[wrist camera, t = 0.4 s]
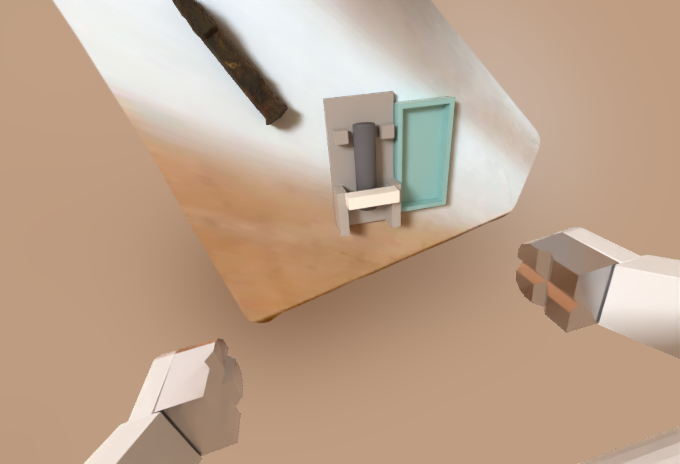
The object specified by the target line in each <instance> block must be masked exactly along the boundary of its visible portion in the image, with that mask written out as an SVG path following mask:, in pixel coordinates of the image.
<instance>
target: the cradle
mask: <svg viewBox="0 0 680 464" xmlns="http://www.w3.org/2000/svg"><path fill="white" fill-rule="evenodd" d="M323 102H324V112H325V122H326V132H327V141H328V151H329V161H330V170H331V180H332V190H333V200H334V209H335V219H336V226H337V228H338V230H339V233H340V235H341V236H347V235H350V229H349V225H355V224H361V223H367V222H373V221H379V220H385V219H386V220H387V222H388V223H389V224H390V226H391V227H392V228H393V227H399V226H401V184H400V183H399V182H398V181H397V180H396V179H395V178H394V92H392V91H389V92H380V93H371V94H362V95H353V96H344V97H335V98H326V99H323ZM362 122H373V123H375V141H376V176H377V188H382V187H388V186H395V187H396V188H397V189H398V190H399V191H400V202H398V203H391V204H385V205H379V206H377V208H376V209H374V210H371V211H362V210H359V209H354V210H349V209H348V207H347V205H346V199H345V193H349V192H356V191H357V190H356V174H355V158H354V143H353V127H352V125H353V124H356V123H362Z"/></svg>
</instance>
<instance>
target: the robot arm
mask: <svg viewBox="0 0 680 464" xmlns="http://www.w3.org/2000/svg"><path fill="white" fill-rule="evenodd" d="M518 258H519V259H520V260H521V261H522V263H521V264H520V266H519V267H518V269H517V271H516V281H517V284H518V286H519V289H520V291H521V292H522V293H523V294H524V296H525V297H526V298H527V299H528V300H529V301H531V302H532V303H535V304H538V305H541V306H544V312H545V315H547V316H548V317H549V318H550V319H551V320H552V321H553V322H555V323H556V324H557V325H558V326H559V327H561V328H562V329H563V330H564V331H565V332H570V331H573V330H577V329H580V328H583V327H586V326H590V325H593V324H596V323H599V324H598V325H600V326H603V327H605V328H607V329H610V330H612V331H615V332H617V333H619V334H622V335H624V336H627V337H629V338H631V339H634V340H636V341H639V342H641V343H643V344H646V345H648V346H651V347H653V348H655V349H658V350H660V351H663V352H665V353H668V354H670V355H672V356H675V357H677V358H680V260H675V259H669V258H663V257H657V256H651V255H645V256H639V255H637V254H635V253H633V252H630V251H629V250H627V249H625V248H623V247H621V246H618V245H616V244H614V243H612V242H610V241H608V240H606V239H604V238H602V237H600V236H598V235H596V234H594V233H592V232H590V231H587V230H586V229H583V228H579V227H572V228H570V229H567V230H563V231H560V232H557V233H556V234H552V235H549V236H546V237H543V238H540V239H536V240H533V241H530V242H527V243H524V244H522V245H521V246H520V248H519V249H518ZM227 353H228V346H227V345H226V343H225V342H224V340H223V339H220V338H218V339H214V340H210V341H207V342H203V343H200V344H196V345H193V346H189V347H186V348H183V349H180V350H177V351H173V352H170V353H166V354H163V355H160V356H158V357H157V358H156V359H155V360H154V361H153V364H152V366H151V369H150V371H149V373H148V375H147V378H146V380H145V382H144V385H143V387H142V389H141V392H140V394H139V397H138V399H137V401H136V404H135V406H134V408H133V411H132V413H131V415H130V418H129V420H128V422H126V423H124V424H121V425H120V426H119V427H118V428H117V429H116V430H115V431H114V432H113V433H112V434H111V435H110V436H109V437H108V438H107V439H106V441H105V442H104V443H103V444H102V445H101V446H100V447H99V448H98V449H97V450H96V451H95V452H94V453H93V454H92V455H91V456H90V458H89V459H88V460H87V461H86V462H85V463H84V464H199V463H200V461H201V459H202V458H201V456H203V455H205V454H208V453H211V452H214V451H216V450H219V449H222V448H224V447H227V446H230V445H233V444H236V443H238V435H239V425H240V413H239V411H238V409H237V408H236V405H237V404H238V402H239V401H240V399H241V398H242V394H243V380H242V373H241V370H240V367H239V365H238V363H237V362H236V360H235V359H234V358H231V357H229V356H227ZM578 464H680V426H678V427H675V428H672V429H670V430H667V431H664V432H661V433H659V434H656V435H653V436H651V437H648V438H645V439H642V440H640V441H637V442H634V443H632V444H629V445H626V446H623V447H621V448H618V449H615V450H613V451H610V452H607V453H604V454H602V455H599V456H596V457H594V458H591V459H588V460H586V461H583V462H580V463H578Z"/></svg>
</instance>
